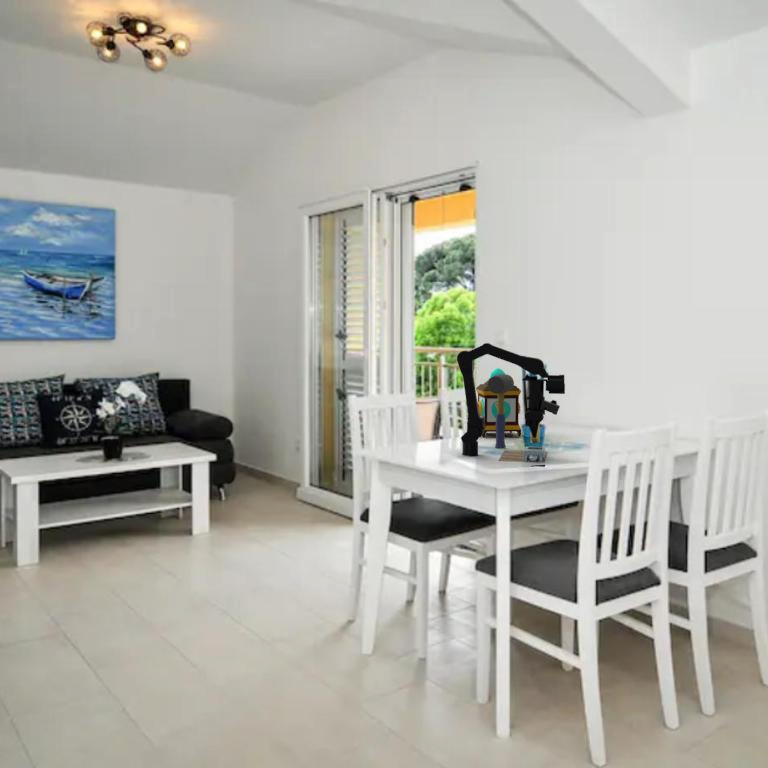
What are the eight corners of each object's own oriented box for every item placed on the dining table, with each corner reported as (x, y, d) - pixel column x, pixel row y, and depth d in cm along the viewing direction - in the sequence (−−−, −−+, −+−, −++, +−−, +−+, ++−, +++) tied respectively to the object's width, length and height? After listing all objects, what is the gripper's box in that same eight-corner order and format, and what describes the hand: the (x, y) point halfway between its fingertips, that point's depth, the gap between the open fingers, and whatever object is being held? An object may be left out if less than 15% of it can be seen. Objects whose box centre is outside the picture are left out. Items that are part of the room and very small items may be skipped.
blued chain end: (525, 454, 282) (525, 446, 282) (545, 455, 281) (545, 447, 280) (522, 461, 267) (522, 453, 267) (543, 462, 266) (543, 453, 266)
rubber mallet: (504, 454, 292) (504, 375, 290) (485, 453, 296) (485, 374, 294) (514, 449, 303) (515, 373, 301) (496, 448, 307) (497, 373, 305)
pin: (526, 441, 279) (526, 416, 279) (537, 441, 281) (537, 416, 280) (532, 443, 275) (532, 418, 274) (543, 442, 276) (544, 417, 276)
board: (504, 454, 293) (504, 450, 293) (547, 455, 289) (547, 451, 289) (497, 465, 270) (498, 460, 269) (544, 466, 266) (544, 462, 266)
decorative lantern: (514, 432, 356) (514, 367, 354) (525, 438, 337) (526, 369, 334) (471, 432, 355) (471, 367, 353) (479, 438, 335) (480, 369, 333)
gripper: (557, 396, 266) (557, 441, 267) (559, 391, 284) (558, 434, 285) (525, 395, 268) (524, 440, 269) (528, 391, 286) (527, 433, 287)
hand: (534, 436), depth 278 cm, fingers closed on pin, 3 cm apart
